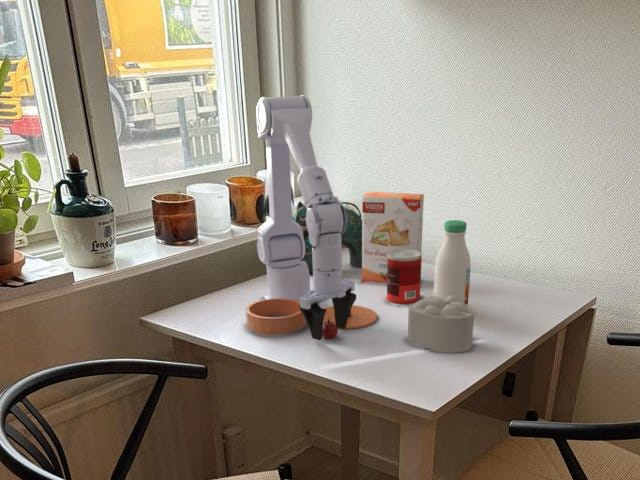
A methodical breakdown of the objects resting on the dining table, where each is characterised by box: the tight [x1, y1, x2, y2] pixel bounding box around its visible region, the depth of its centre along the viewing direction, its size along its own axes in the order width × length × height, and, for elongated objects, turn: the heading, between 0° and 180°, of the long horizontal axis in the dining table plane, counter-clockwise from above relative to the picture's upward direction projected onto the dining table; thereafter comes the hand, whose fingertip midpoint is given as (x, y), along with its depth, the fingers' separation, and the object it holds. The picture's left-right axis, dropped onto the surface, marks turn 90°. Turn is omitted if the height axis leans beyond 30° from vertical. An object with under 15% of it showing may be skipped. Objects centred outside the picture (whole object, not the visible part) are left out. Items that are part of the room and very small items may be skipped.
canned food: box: [386, 249, 423, 305], centre depth 168 cm, size 8×8×11 cm
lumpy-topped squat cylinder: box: [407, 294, 475, 354], centre depth 148 cm, size 10×13×9 cm
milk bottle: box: [433, 219, 472, 306], centre depth 158 cm, size 8×8×20 cm
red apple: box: [322, 319, 339, 340], centre depth 150 cm, size 4×4×4 cm
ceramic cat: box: [292, 201, 362, 275], centre depth 187 cm, size 20×6×20 cm, turn 115°
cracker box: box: [361, 190, 425, 284], centre depth 178 cm, size 14×6×21 cm, turn 77°
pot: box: [245, 298, 307, 335], centre depth 157 cm, size 13×13×4 cm
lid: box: [323, 304, 378, 330], centre depth 160 cm, size 14×14×5 cm
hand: (329, 333), depth 151 cm, fingers open, 7 cm apart
